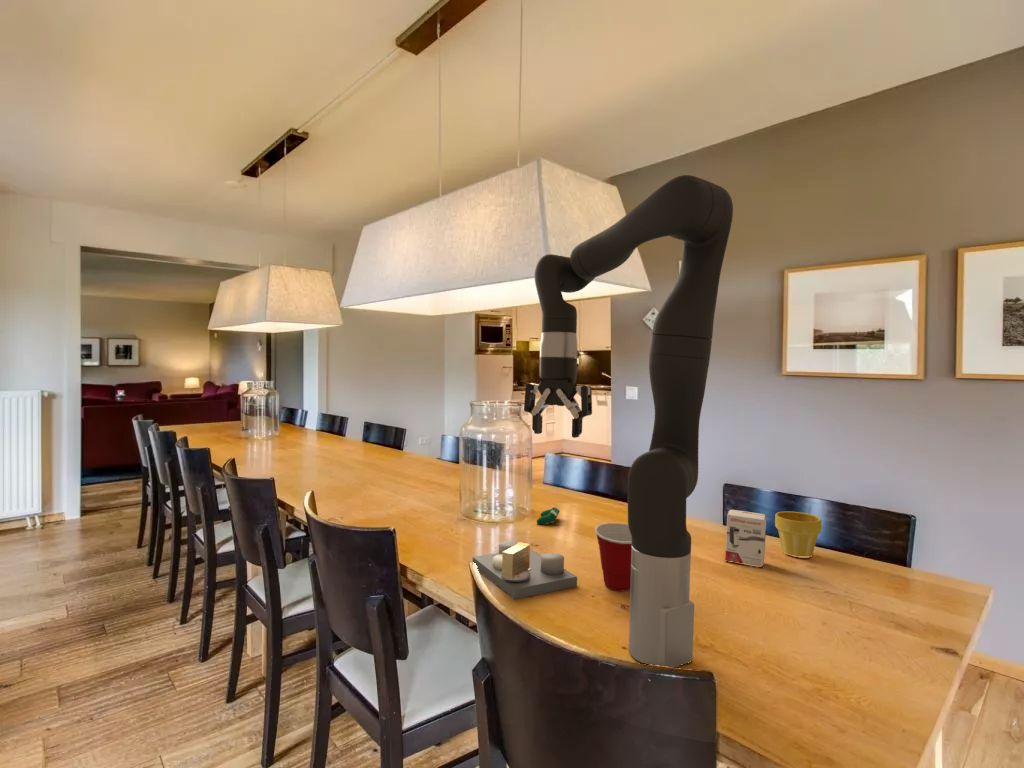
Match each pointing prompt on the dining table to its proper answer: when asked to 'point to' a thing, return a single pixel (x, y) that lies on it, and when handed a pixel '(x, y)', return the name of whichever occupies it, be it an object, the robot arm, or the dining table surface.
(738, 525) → the ink box
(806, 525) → the plant pot
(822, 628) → the dining table surface
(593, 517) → the dining table surface
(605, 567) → the plastic cup
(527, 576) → the wing knob
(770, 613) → the dining table surface
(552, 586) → the base
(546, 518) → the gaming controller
